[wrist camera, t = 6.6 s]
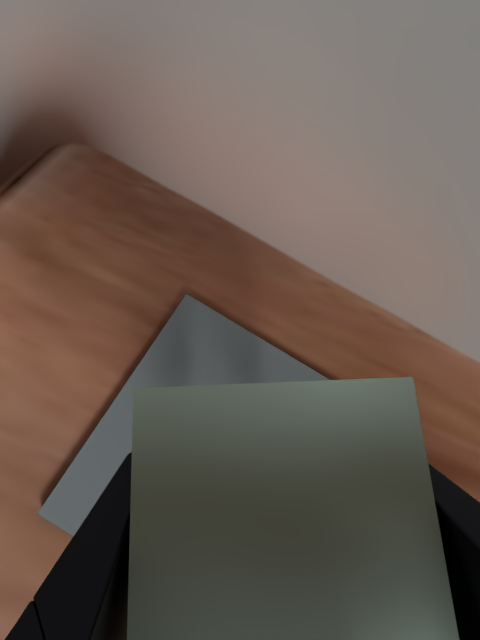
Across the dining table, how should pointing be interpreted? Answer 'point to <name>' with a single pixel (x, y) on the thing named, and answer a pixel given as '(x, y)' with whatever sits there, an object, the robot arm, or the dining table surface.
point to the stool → (284, 514)
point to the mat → (167, 371)
